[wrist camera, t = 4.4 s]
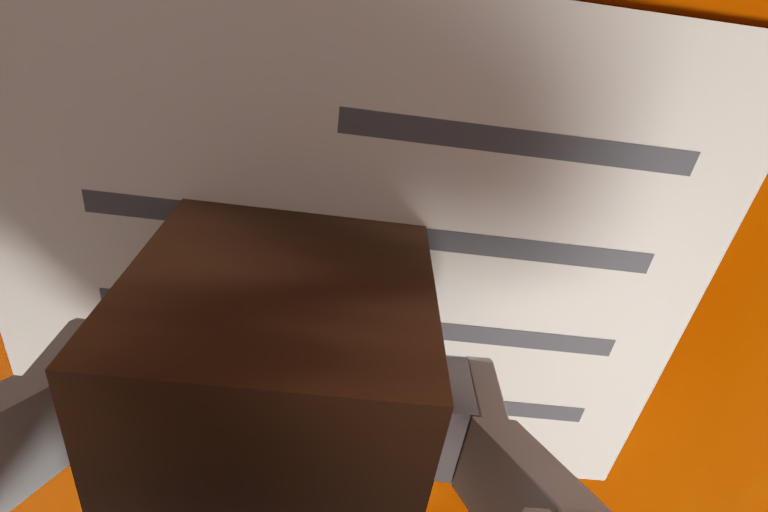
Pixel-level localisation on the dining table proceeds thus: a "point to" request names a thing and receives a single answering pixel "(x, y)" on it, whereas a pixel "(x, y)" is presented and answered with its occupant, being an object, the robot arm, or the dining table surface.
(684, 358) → the dining table surface
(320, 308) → the walnut block
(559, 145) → the letter
